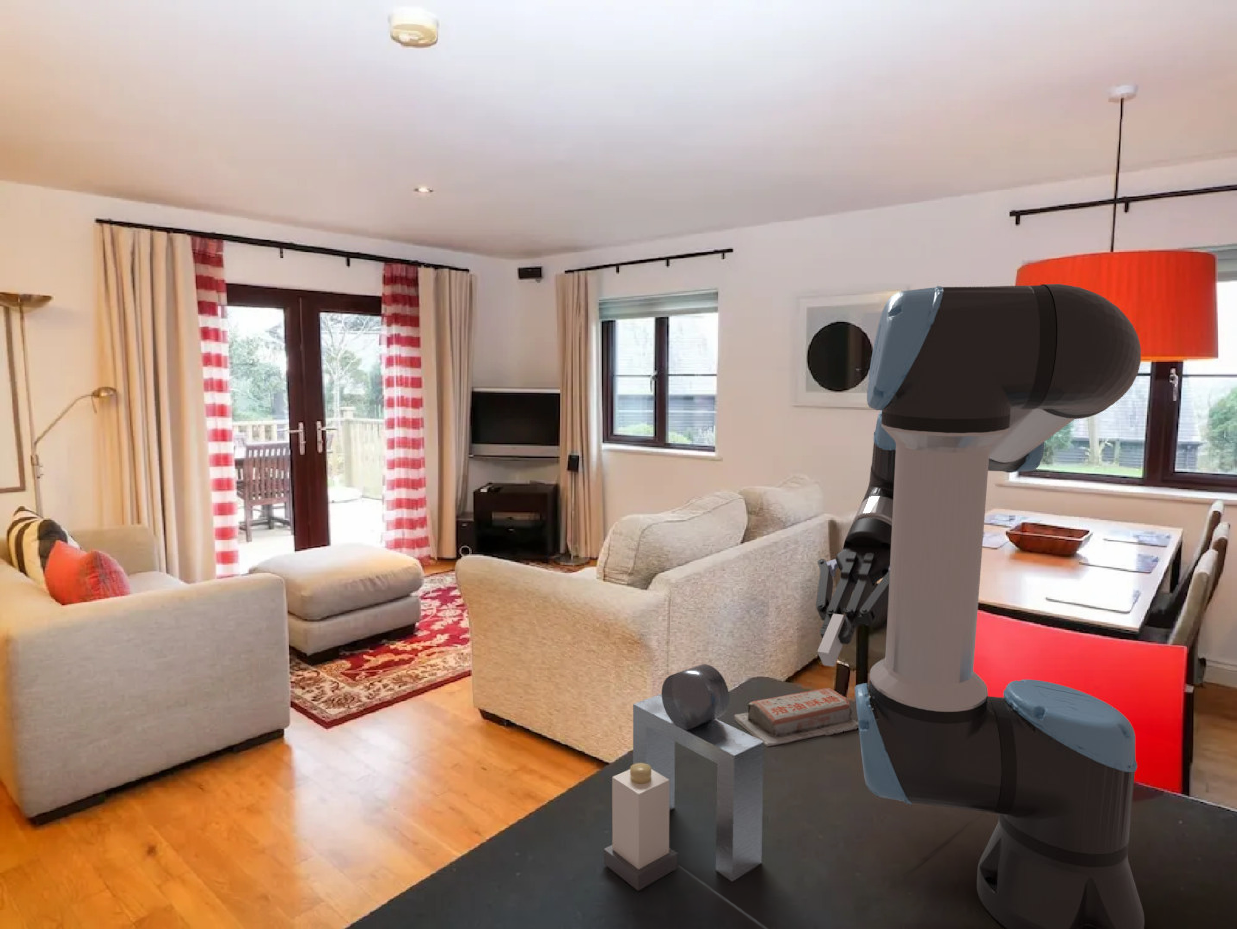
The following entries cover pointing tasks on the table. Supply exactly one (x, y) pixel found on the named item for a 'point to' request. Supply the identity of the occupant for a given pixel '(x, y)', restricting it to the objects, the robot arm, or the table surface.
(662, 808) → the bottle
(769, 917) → the table surface
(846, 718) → the packaged product
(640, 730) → the grey metal arch
